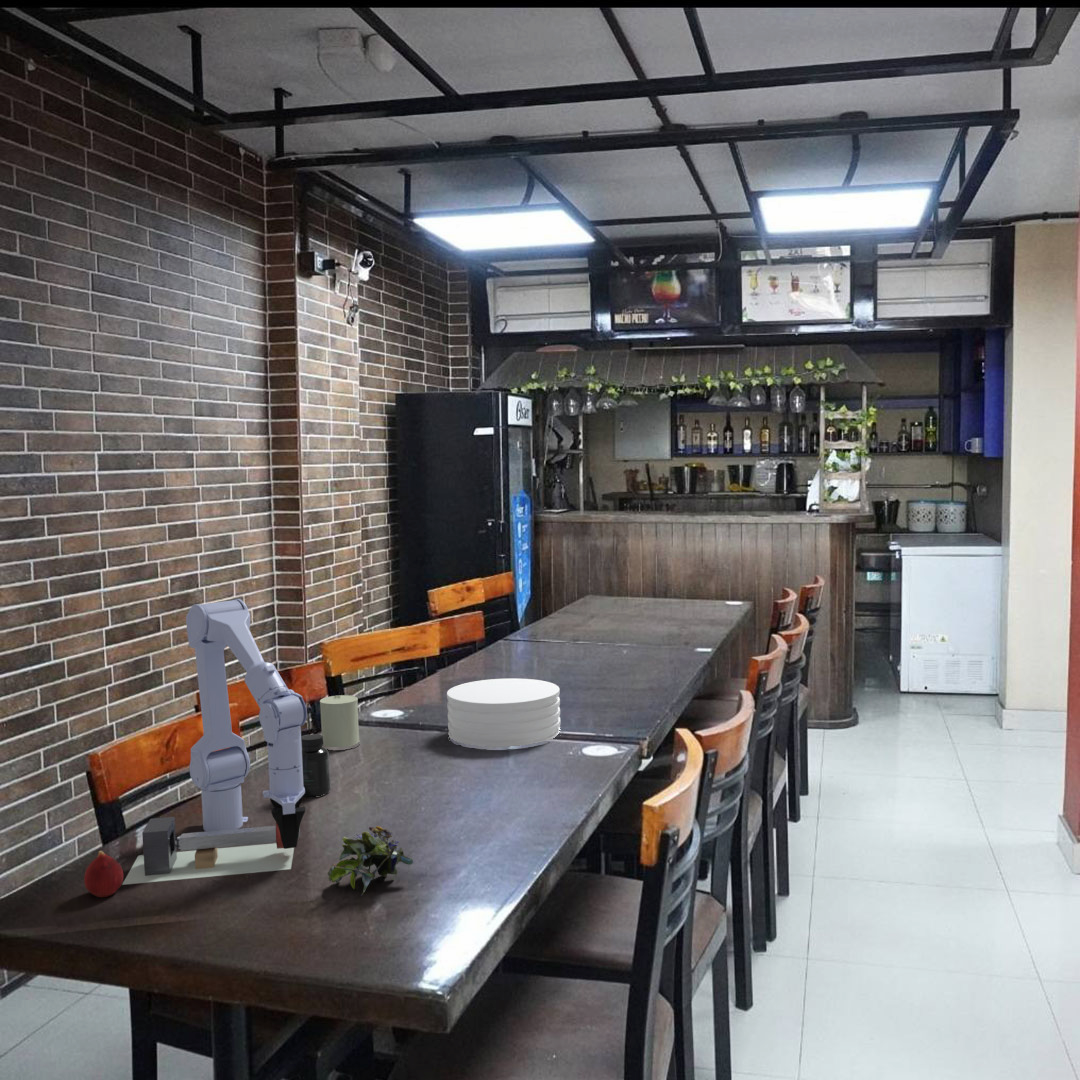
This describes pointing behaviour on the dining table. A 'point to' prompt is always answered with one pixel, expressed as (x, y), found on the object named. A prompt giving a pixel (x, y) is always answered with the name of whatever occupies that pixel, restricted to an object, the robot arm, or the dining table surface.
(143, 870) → the board
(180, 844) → the rod
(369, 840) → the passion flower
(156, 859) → the block
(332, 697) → the can
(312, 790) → the supplement bottle
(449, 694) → the plate stack
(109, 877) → the red kuri squash
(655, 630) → the dining table surface
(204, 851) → the brown rectangular block
